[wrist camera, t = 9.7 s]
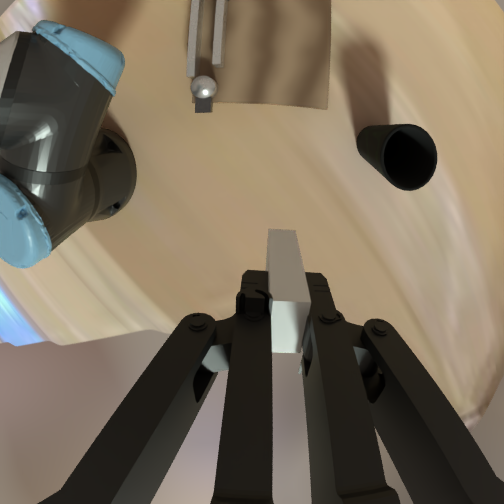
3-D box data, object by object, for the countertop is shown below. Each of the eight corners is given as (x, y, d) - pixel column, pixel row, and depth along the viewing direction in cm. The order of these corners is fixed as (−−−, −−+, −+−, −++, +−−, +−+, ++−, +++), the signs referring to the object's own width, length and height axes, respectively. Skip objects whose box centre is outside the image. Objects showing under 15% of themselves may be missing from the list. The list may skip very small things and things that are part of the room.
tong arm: (214, 67, 32) (210, 64, 29) (220, -12, 26) (216, -20, 23) (225, 67, 32) (222, 63, 29) (230, -13, 26) (227, -21, 23)
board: (195, 103, 36) (192, 103, 34) (202, -5, 28) (199, -10, 26) (324, 109, 36) (327, 109, 34) (328, 0, 27) (331, -5, 25)
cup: (347, 119, 36) (378, 124, 25) (394, 118, 35) (436, 124, 25) (352, 170, 40) (382, 193, 29) (397, 167, 39) (437, 189, 28)
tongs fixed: (189, 112, 35) (184, 113, 32) (197, -13, 26) (192, -20, 23) (217, 112, 35) (213, 112, 32) (224, -15, 26) (221, -23, 23)
